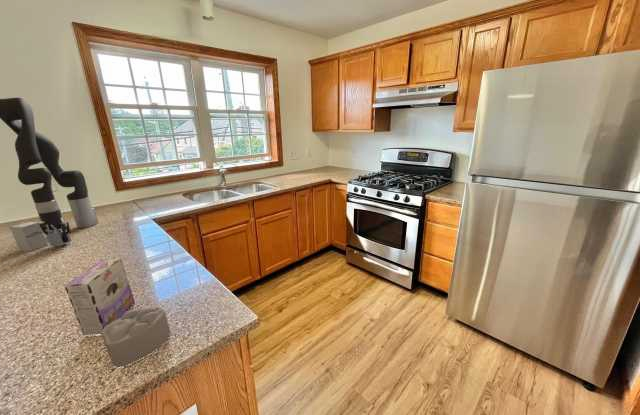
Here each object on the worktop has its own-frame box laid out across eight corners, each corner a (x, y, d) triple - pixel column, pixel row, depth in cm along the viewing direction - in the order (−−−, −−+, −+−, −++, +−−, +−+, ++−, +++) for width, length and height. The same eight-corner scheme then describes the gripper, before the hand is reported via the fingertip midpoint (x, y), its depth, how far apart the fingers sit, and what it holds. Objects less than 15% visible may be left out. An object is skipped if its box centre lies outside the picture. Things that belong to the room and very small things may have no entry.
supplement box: (30, 251, 126) (20, 227, 122) (19, 251, 127) (8, 226, 123) (48, 245, 133) (39, 221, 129) (37, 244, 134) (28, 221, 130)
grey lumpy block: (106, 350, 66) (96, 322, 63) (162, 321, 75) (155, 296, 73) (117, 374, 59) (106, 344, 57) (177, 339, 69) (169, 311, 66)
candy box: (116, 304, 84) (101, 258, 79) (136, 303, 84) (122, 257, 79) (83, 338, 70) (62, 285, 65) (106, 335, 71) (87, 283, 66)
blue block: (62, 240, 134) (58, 230, 132) (71, 241, 133) (67, 230, 131) (50, 245, 129) (46, 234, 127) (60, 245, 128) (56, 234, 126)
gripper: (69, 207, 128) (80, 239, 133) (44, 207, 130) (56, 238, 135) (52, 212, 121) (65, 245, 126) (26, 212, 123) (40, 245, 128)
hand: (60, 241), depth 131 cm, fingers closed on blue block, 5 cm apart
